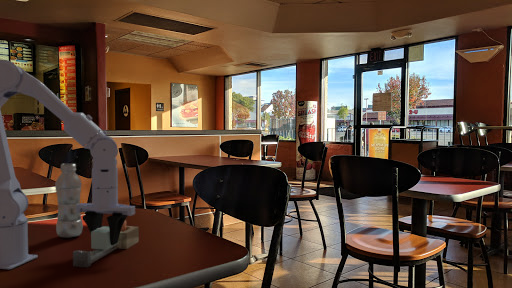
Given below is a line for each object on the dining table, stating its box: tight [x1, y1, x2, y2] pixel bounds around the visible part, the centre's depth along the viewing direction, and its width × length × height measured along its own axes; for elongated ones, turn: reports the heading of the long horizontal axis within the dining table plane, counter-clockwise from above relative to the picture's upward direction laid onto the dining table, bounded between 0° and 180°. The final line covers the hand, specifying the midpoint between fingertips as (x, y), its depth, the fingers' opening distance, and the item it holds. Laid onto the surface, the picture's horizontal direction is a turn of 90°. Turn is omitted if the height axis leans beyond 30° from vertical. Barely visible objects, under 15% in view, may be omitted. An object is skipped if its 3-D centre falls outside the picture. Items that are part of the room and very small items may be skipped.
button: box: [121, 219, 127, 232], centre depth 99 cm, size 3×3×4 cm
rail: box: [72, 244, 119, 268], centre depth 89 cm, size 4×13×3 cm, turn 169°
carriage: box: [90, 225, 118, 250], centre depth 92 cm, size 4×5×4 cm
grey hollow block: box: [117, 225, 140, 250], centre depth 99 cm, size 7×6×4 cm
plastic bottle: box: [54, 162, 84, 239], centre depth 104 cm, size 6×7×20 cm
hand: (105, 243), depth 92 cm, fingers closed on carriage, 4 cm apart
